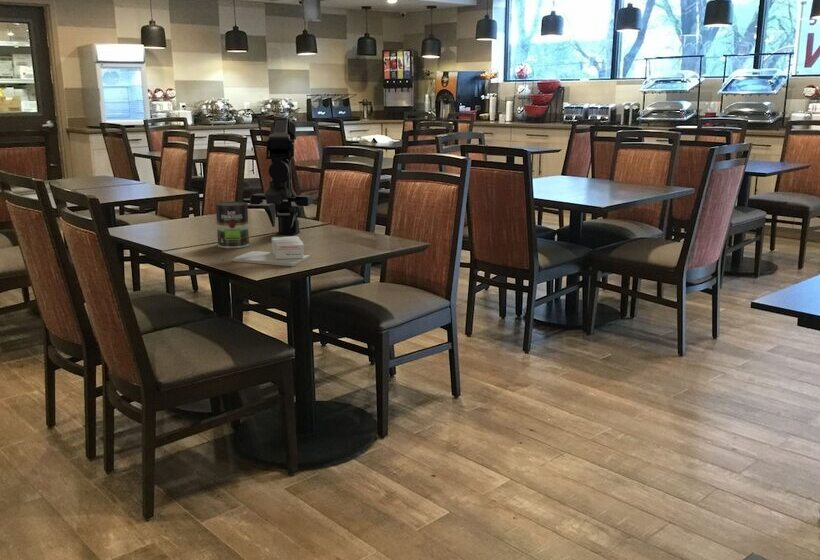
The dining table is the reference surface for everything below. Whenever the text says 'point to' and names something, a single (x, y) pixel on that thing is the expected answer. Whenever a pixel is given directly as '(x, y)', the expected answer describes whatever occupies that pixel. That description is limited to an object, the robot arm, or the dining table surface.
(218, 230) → the coffee can
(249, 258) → the mat
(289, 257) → the ink box
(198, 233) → the dining table surface
